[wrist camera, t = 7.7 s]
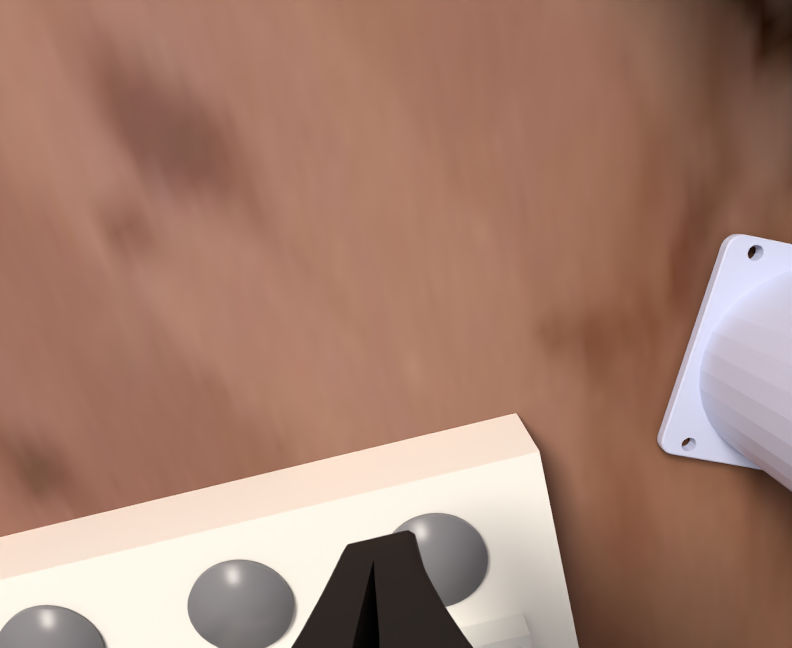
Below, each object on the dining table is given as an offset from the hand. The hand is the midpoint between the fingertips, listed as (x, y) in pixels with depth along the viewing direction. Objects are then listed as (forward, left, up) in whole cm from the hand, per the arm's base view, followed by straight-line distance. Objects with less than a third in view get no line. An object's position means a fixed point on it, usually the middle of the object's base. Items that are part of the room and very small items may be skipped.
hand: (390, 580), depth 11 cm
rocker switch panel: (+2, +10, -9) cm, 14 cm away
